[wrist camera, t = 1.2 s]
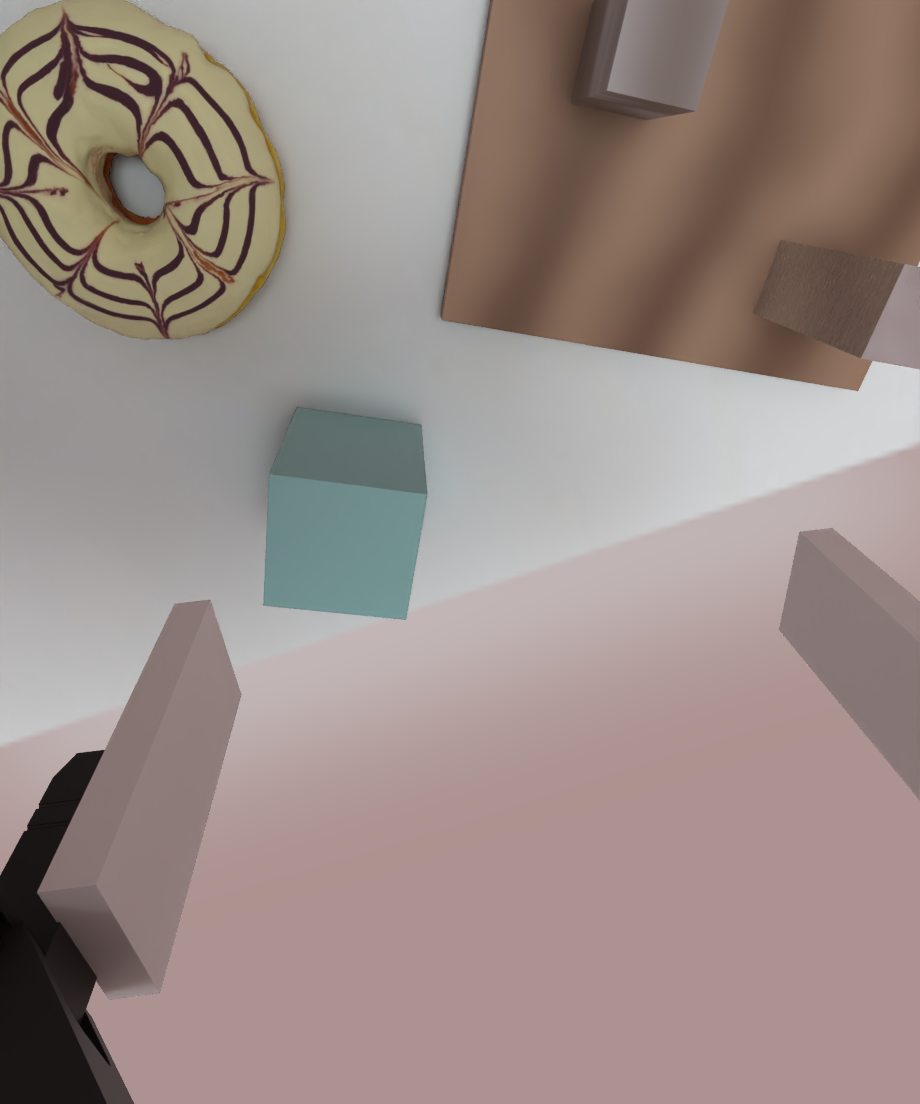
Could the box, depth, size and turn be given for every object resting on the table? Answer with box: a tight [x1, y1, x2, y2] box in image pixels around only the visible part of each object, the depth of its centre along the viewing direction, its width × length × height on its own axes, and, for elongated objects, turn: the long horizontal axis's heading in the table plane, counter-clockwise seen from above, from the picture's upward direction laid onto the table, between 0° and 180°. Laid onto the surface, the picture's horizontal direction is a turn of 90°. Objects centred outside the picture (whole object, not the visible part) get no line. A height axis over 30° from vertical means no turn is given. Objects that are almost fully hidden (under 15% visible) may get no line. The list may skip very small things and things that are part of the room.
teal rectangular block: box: [263, 407, 427, 620], centre depth 30 cm, size 6×6×8 cm
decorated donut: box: [0, 0, 285, 340], centre depth 25 cm, size 10×11×4 cm
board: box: [441, 0, 920, 391], centre depth 25 cm, size 20×14×6 cm
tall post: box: [753, 240, 920, 369], centre depth 26 cm, size 3×3×8 cm
